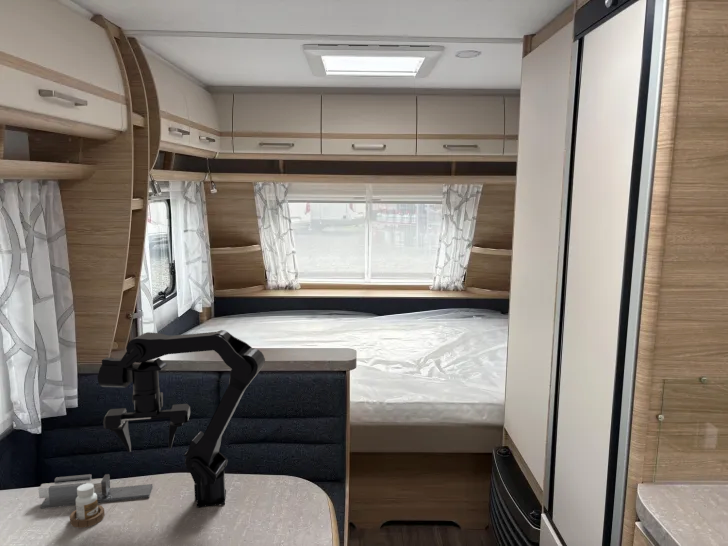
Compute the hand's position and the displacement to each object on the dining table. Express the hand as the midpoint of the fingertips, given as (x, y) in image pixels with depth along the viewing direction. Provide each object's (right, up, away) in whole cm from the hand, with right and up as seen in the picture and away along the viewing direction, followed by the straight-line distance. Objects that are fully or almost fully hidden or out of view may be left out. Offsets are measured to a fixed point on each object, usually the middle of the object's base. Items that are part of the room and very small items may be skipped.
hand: (150, 450), depth 137 cm
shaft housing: (-13, -12, +2) cm, 18 cm away
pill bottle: (-11, -14, -7) cm, 19 cm away
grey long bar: (-18, -11, +1) cm, 21 cm away
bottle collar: (-11, -13, -7) cm, 19 cm away
